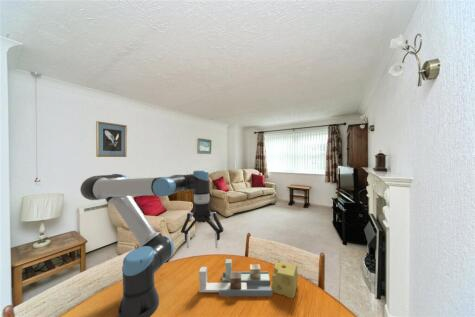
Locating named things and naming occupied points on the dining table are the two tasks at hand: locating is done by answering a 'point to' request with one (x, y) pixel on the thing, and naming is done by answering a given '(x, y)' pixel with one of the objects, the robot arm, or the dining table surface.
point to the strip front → (212, 286)
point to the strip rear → (243, 276)
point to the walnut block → (235, 281)
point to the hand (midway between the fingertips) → (202, 247)
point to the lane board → (248, 287)
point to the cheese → (285, 279)
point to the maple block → (255, 272)
